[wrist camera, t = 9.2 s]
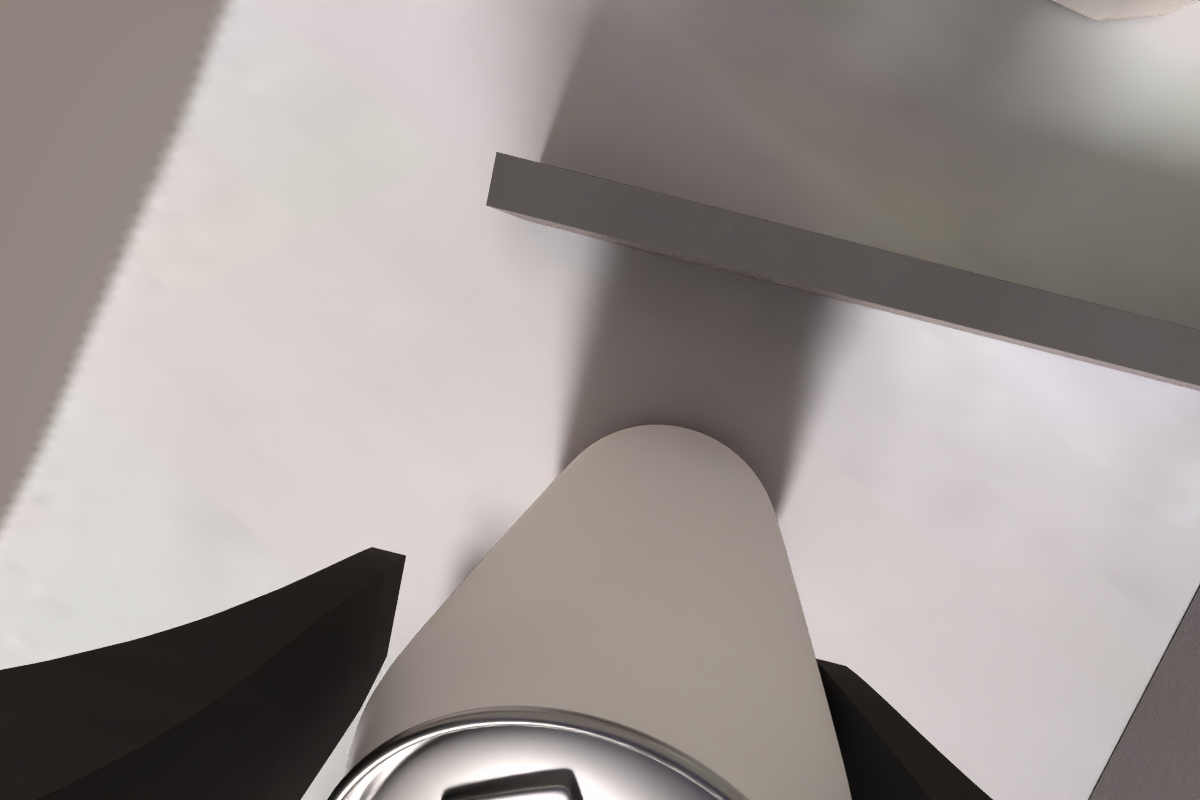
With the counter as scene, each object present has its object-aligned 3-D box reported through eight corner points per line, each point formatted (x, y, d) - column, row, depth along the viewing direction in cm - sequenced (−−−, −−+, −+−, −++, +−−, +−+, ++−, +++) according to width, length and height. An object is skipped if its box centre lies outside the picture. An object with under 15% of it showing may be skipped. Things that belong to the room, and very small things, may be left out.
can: (589, 655, 19) (381, 1240, 7) (521, 454, 18) (170, 731, 6) (805, 611, 17) (988, 1252, 6) (739, 391, 17) (791, 604, 5)
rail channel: (1345, 387, 16) (1606, 433, 12) (974, 1078, 22) (1059, 1280, 18) (533, 181, 16) (496, 151, 12) (375, 930, 22) (312, 1096, 18)
